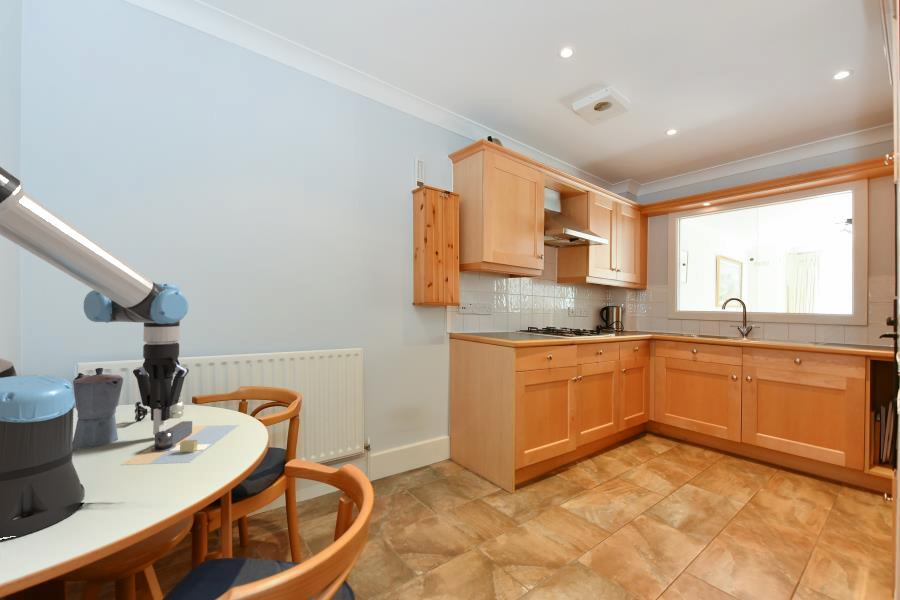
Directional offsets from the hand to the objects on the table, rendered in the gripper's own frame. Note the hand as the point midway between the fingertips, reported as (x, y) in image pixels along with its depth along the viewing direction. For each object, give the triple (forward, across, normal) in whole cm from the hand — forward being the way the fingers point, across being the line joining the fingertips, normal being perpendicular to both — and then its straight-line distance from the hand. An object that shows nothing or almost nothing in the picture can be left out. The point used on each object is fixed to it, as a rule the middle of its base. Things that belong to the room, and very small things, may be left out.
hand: (160, 432), depth 99 cm
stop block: (+1, -13, +9) cm, 16 cm away
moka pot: (+3, +14, +3) cm, 15 cm away
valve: (+3, +14, -19) cm, 24 cm away
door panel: (+3, -9, +3) cm, 10 cm away
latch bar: (+1, -6, +3) cm, 6 cm away
